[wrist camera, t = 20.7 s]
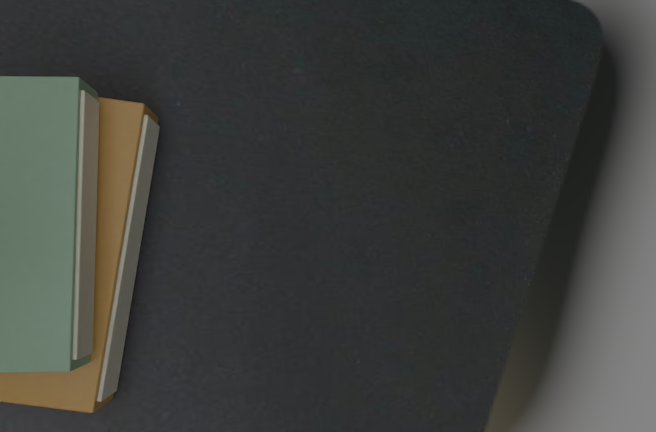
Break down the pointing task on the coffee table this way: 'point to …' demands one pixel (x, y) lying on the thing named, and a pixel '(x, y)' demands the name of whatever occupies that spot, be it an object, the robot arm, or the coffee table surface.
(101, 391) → the book stack
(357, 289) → the coffee table surface
